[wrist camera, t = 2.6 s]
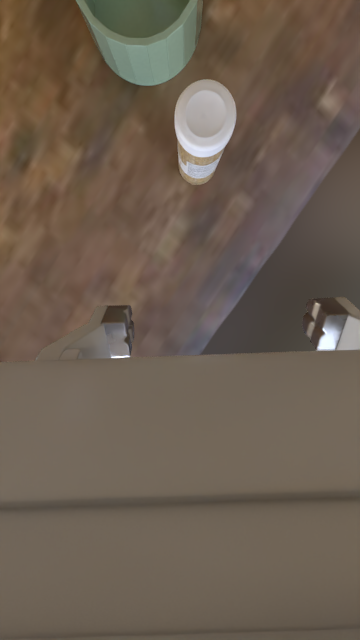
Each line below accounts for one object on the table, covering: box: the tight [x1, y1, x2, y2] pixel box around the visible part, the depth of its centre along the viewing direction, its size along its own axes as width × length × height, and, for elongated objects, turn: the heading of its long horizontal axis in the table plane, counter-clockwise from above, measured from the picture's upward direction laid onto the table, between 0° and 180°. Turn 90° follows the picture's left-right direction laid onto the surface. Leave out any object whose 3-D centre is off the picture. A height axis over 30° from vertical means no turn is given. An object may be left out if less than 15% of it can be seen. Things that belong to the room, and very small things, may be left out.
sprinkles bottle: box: [174, 79, 236, 185], centre depth 26 cm, size 5×5×14 cm
